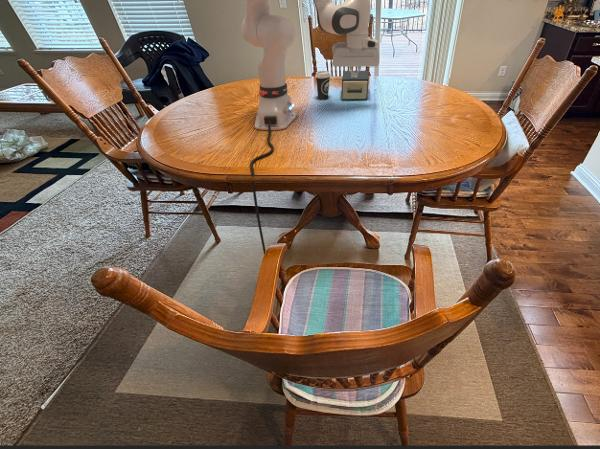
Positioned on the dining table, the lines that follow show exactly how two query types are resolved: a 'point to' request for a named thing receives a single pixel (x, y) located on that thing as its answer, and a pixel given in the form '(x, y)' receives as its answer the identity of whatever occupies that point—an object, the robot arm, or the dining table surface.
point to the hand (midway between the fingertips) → (354, 77)
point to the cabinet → (361, 77)
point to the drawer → (354, 89)
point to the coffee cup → (322, 84)
